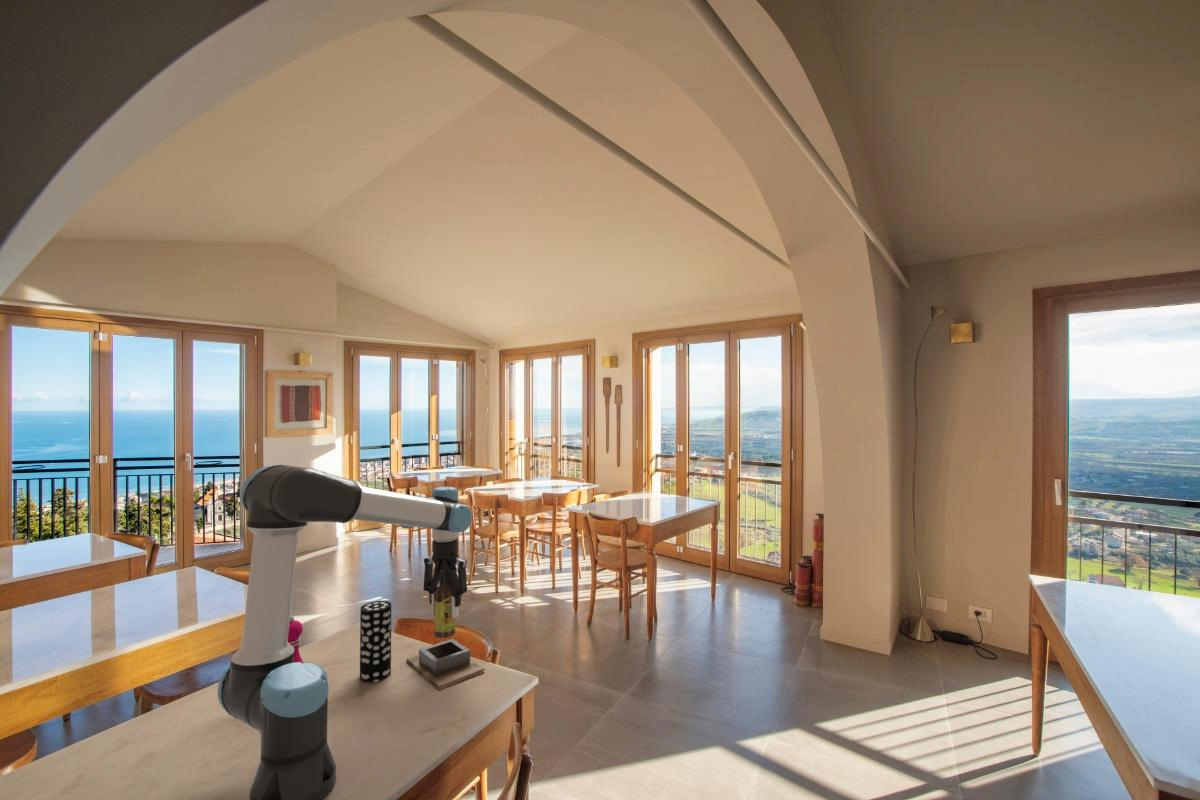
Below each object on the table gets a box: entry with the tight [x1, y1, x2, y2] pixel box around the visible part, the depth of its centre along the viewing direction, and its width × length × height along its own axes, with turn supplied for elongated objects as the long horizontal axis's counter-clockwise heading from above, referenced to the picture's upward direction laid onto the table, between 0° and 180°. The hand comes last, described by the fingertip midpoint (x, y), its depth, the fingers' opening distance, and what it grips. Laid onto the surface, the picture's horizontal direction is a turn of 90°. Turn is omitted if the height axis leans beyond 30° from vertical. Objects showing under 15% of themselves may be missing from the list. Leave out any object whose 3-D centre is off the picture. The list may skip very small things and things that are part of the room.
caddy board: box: [406, 653, 485, 690], centre depth 156 cm, size 22×14×1 cm, turn 43°
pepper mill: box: [288, 614, 304, 664], centre depth 145 cm, size 7×7×20 cm
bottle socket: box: [418, 638, 471, 677], centre depth 157 cm, size 11×11×4 cm
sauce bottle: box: [433, 569, 457, 639], centre depth 157 cm, size 6×6×20 cm
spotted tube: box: [359, 600, 392, 684], centre depth 152 cm, size 8×8×20 cm
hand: (445, 615), depth 157 cm, fingers closed on sauce bottle, 6 cm apart
